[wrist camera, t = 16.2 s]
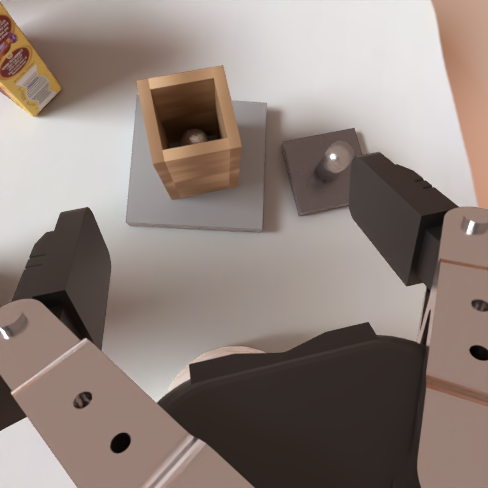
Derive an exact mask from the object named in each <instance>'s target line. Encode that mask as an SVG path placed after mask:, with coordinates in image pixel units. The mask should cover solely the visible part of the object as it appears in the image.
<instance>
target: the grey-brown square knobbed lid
mask: <svg viewBox="0 0 488 488" xmlns="http://www.w3.org/2000/svg"><path fill="white" fill-rule="evenodd" d="M282 150H283V154H284V158H285V162H286V166H287V170H288V174H289V178H290V182H291V186H292V190H293V194H294V198H295V202H296V206H297V210H298V214H299V216H301V215H306V214H310V213H315V212H320V211H324V210H329V209H334V208H339V207H343V206H348V205H349V189H350V175H351V163H352V160H353V158H354V157H356V156H361V155H362V153H361V150H360V146H359V143H358V139H357V135H356V132H355V128H352V129H347V130H342V131H336V132H331V133H326V134H321V135H316V136H311V137H306V138H301V139H296V140H290V141H285V142H283V144H282Z"/></svg>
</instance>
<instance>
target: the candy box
mask: <svg viewBox="0 0 488 488" xmlns="http://www.w3.org/2000/svg"><path fill="white" fill-rule="evenodd" d="M61 90H62V87H61V86H60V84H59V83H58V81H57V80H56V79H55V77H54V76H53V74H52V73H51V72H50V70H49V69H48V68H47V66H46V65H45V63H44V62H43V61H42V59H41V58H40V56H39V55H38V54H37V52H36V51H35V49H34V48H33V47H32V45H31V44H30V43H29V41H28V40H27V38H26V37H25V35H24V34H23V33H22V31H21V30H20V29H19V27H18V26H17V25H16V23H15V22H14V20H13V19H12V18H11V16H10V15H9V13H8V12H7V11H6V9H5V8H4V6H3V5H2V4H1V2H0V92H2V93H3V94H4V95H6V96H7V97H8V98H10V99H11V100H12V101H14V102H15V103H16V104H17V105H19V106H20V107H21V108H23V109H24V110H25V111H26V112H28V113H29V114H30V115H32V116H33V117H35V116H36V115H37V114H38V113H39V112H40V111H41V110H42V109H43V108H44V107H45V106H46V105H47V104H48V103H49V102H50V101H51V100H52V99H53V98H54V96H55V95H56V94H57V93H58V92H59V91H61Z"/></svg>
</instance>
